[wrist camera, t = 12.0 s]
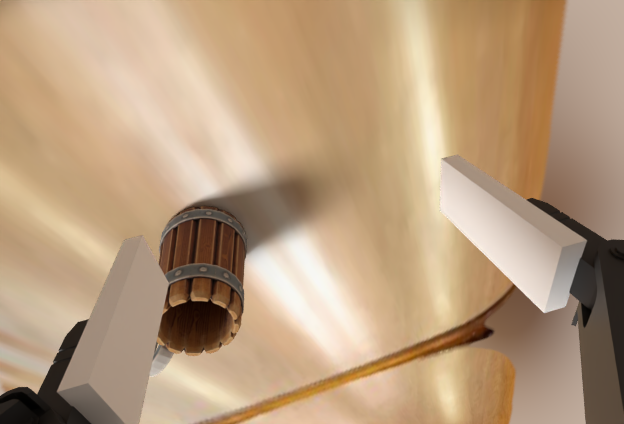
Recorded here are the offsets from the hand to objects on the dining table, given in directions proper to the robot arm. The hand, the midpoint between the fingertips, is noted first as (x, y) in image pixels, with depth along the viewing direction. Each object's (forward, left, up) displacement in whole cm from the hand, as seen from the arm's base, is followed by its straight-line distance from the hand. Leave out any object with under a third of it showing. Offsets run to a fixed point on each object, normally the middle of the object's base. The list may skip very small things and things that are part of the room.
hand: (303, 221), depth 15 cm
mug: (-13, -18, -27) cm, 35 cm away
